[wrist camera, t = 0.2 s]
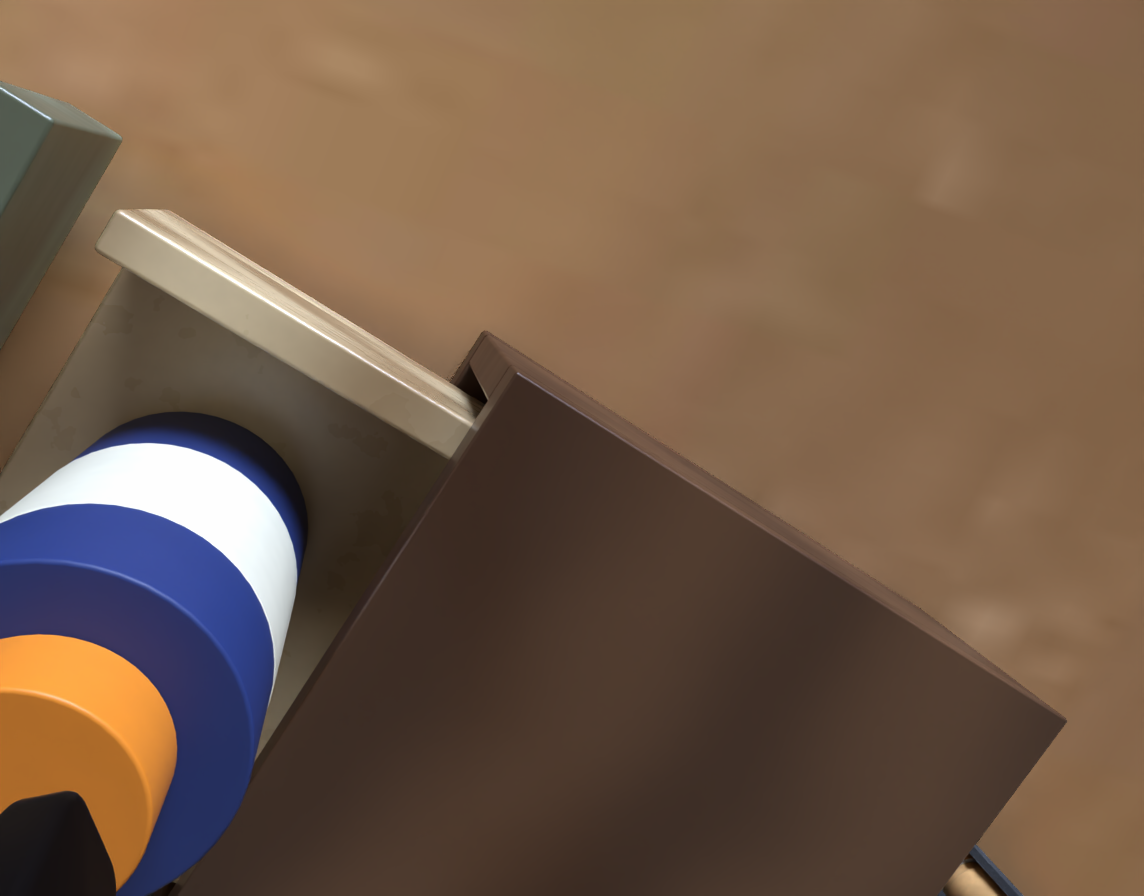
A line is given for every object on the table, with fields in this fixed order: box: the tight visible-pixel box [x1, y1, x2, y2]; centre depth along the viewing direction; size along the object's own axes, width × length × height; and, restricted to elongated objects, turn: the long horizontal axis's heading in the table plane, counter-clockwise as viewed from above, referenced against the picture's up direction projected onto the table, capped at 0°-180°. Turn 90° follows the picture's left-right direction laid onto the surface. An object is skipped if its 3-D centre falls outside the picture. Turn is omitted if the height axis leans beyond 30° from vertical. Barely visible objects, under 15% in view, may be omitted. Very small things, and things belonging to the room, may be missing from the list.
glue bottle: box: [0, 412, 308, 896], centre depth 15 cm, size 5×5×10 cm
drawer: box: [0, 81, 485, 883], centre depth 19 cm, size 16×12×4 cm
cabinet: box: [153, 331, 1067, 896], centre depth 22 cm, size 14×13×6 cm
